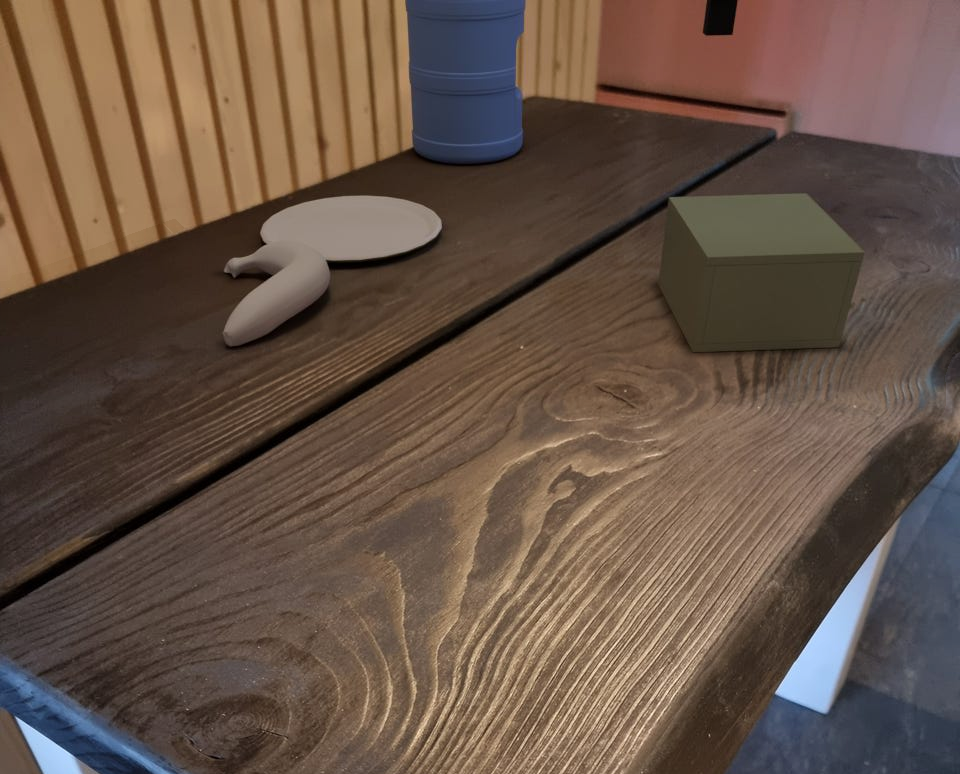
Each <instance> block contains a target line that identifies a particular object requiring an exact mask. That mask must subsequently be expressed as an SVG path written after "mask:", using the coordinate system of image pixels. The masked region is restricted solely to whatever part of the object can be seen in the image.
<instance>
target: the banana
mask: <svg viewBox="0 0 960 774" xmlns="http://www.w3.org/2000/svg"><path fill="white" fill-rule="evenodd" d="M253 269H257V270H260V271H263V272H264V273H267V274H269V275H271V277H270V278H268V279H266V280H265V281H263V282H262V283H261V284H260V285H258V286H257V287H255V288H254V289H253V290H252V291H250V292H249V293H248V294H247V295H246V296H245V297H244V298H243V299H241V300H240V302H239V303H238V304H237V306H236V307H235V308H234V309H233V310H232V312H231V314H230V315H229V317H228V318H227V321H226V323H225V326H224V329H223V331H222V332H221V333H222V336H223V340H224V342H225V344H226V345H227V346H229V347H230V348H231V347H238V346H242V345H244V344H247V343H249V342H252V341H254V340H257V339H260V338H262V337H264V336H266V335H268V334H270V333H271V332H272V331H274V330H275V329H277V328H278V327H280V326H281V325H282V324H284V323H285V322H287V320H289V319H291V318H293V317H294V316H296V315H298V314H299V313H300V312H302V311H303V310H305V309H307V308H308V307H309V306H311V305H312V304H314V303H315V302H316V301H317V300H318V299H320V298H321V297H322V296H323V295H324V293H326V290H327V289H328V287H329V285H330V280H331V271H330V268H329V265H328V262H326V260H325V258H324V257H323V256H322V255H321V253H319V252H318V251H317V250H315V249H313V248H311V247H309V246H307V245H305V244H302V243H298V242H294V241H277V242H273V243H270V244H267V245H266V244H265V245H263V246H261V247H260V248H259V249H257V250H256V251H254V252H253V253H252V254H250V255H246V256H242V257H233V258H230V259H229V260H228V261H227V262H226V264H225V266H224V269H223V272H224V273H225V274H231V275H232V277H233V279H236V277H237V276H239V275H241V273H244V272H246V271H249V270H253Z"/></svg>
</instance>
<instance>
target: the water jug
mask: <svg viewBox="0 0 960 774" xmlns="http://www.w3.org/2000/svg"><path fill="white" fill-rule="evenodd" d="M526 2H527V1H526V0H404V4H405V5H404V6H405V11H406V19H407V20H406V23H407V40H408V42H407V43H408V79H409V80H408V81H409V84H410V98H411V118H412V130H411V139H412V141H411V142H412V143H411V144H412V147H413V149H414V151H415V152H416V153H417V154H418V155H420V156H421V157H423V158H425V159H427V160H430V161H434V162H438V163H445V164H451V165H452V164H453V165H479V164H480V165H481V164H487V163H489V164H490V163H494V162H498V161H502V160H505V159H508V158H511V157H513V156H514V155H516V154H517V153H518V152H519V151H520V150H521V148H522V146H523V140H524V139H523V138H524V137H523V136H524V130H523V129H524V128H523V92H522V91H521V89H520V88H519V87H518V86H517V84H516V83H517V82H516V81H517V46H518V40H519V38H520V36H521V35H522V34H524V32H525V10H526Z"/></svg>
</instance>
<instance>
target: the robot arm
mask: <svg viewBox="0 0 960 774" xmlns="http://www.w3.org/2000/svg"><path fill="white" fill-rule="evenodd" d="M738 1H739V0H706V3H705V13H704V20H703V25H702V26H703V28H702V34H703V35H704V36H706V37H709V36H711V37H712V36H714V37H715V36H733V35H734V29H735V28H734V27H735V22H736V15H737V8H738Z"/></svg>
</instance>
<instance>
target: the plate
mask: <svg viewBox="0 0 960 774" xmlns="http://www.w3.org/2000/svg"><path fill="white" fill-rule="evenodd" d="M442 225H443V224H442V218H440V217H439V216H438V215H437V213H436V212H435V211H434V210H433V209H430V208H429V207H426V206H425V205H423V204H421V203H417V202H414V201H411V200H407V199H402V198H397V197H390V196H377V195H342V196H333V197H324V198H320V199H314V200H310V201H304V202H301V203H299V204H295V205H292V206H289V207H286V208H284V209H282V210H280V211H278V212H277V213H275V214H273V215H271V216H270V217H269V218H268V219H267V220H265V222H263V224H262V226H261V229H260V232H259V234H260V237H261V240H262V242H263V244H265V245H267V244H270V243H273V242H277V241H294V242H298V243H302V244H305V245H307V246H309V247H311V248H313V249H315V250H317V251H318V252H319V253H321V255H322V256H323V257H324V258H325V260H326V262H327V264H328V263H330V264H345V263H346V264H347V263H348V264H349V263H353V264H354V263H365V262H373V261H374V262H375V261H381V260H388V259H392V258H395V257H400V256H403V255H407V254H410V253H412V252H414V251H417V250H419V249H423V248H424V247H426V246H427V245H429V244H430V243H431V242H433V241H435V240H436V239H437V237H438V236H439V234H440V233H441V231H442V230H443V226H442Z"/></svg>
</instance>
